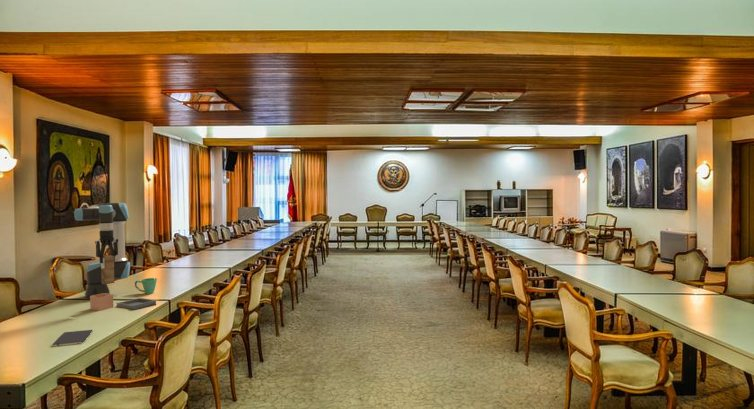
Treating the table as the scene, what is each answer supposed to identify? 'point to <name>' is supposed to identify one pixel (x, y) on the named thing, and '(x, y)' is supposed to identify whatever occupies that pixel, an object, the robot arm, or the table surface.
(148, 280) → the mug
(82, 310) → the table surface
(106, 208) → the robot arm
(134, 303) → the charcoal tray
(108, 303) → the square pink sleeve
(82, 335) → the notebook
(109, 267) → the walnut peg
